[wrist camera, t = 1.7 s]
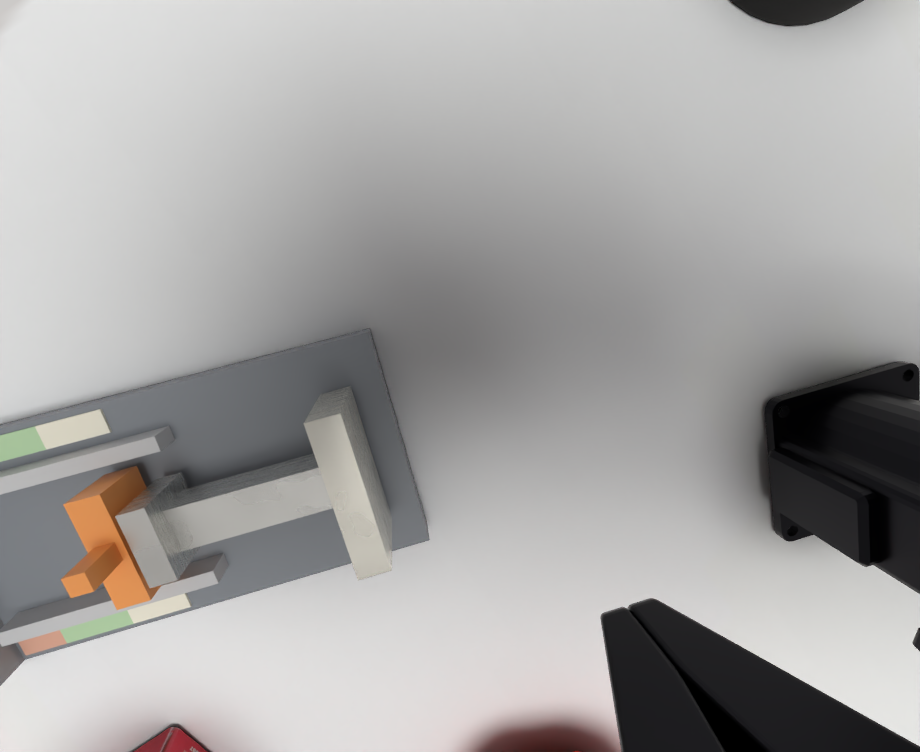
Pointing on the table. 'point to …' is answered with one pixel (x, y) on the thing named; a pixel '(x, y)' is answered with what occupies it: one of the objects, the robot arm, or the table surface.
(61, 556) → the gauge bed
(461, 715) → the table surface
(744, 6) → the mug
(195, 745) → the ink box
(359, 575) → the plunger
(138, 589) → the orange tabbed block
